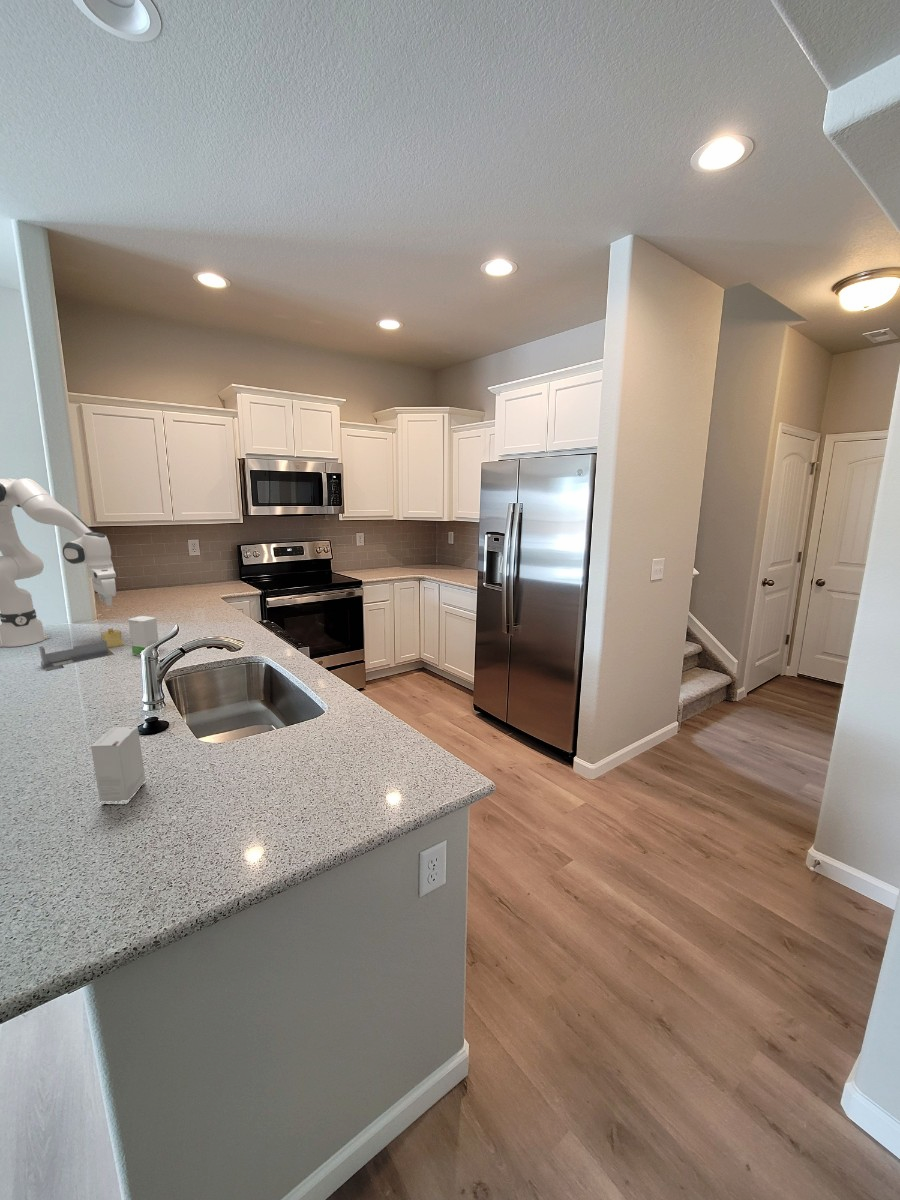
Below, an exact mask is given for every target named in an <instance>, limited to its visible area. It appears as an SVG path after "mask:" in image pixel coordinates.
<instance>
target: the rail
mask: <svg viewBox="0 0 900 1200" xmlns="http://www.w3.org/2000/svg"><path fill="white" fill-rule="evenodd" d="M38 647H39V653H40V658H41V661H40V664H41V666H42V668H43V669H44V670H45V671H46V672H48V671H52V670H53V669H54V670H58V668H59V669H62V668H65V665H66V666H67V665H70V664H75V663H80V662H85V661H89V660H95V659H99V658H103V657H109V656H114V655H115V653H114V652H112V651H111V650H110V648H108V647H107V641H102V640H101V641H95V642H91V643H85V644H80V645H74V646H72V648H70V649H63V650H59V651H54V652H53V651H52V652H48V653H46V650H45V647H44V646H41V645H40V646H38Z"/></svg>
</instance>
